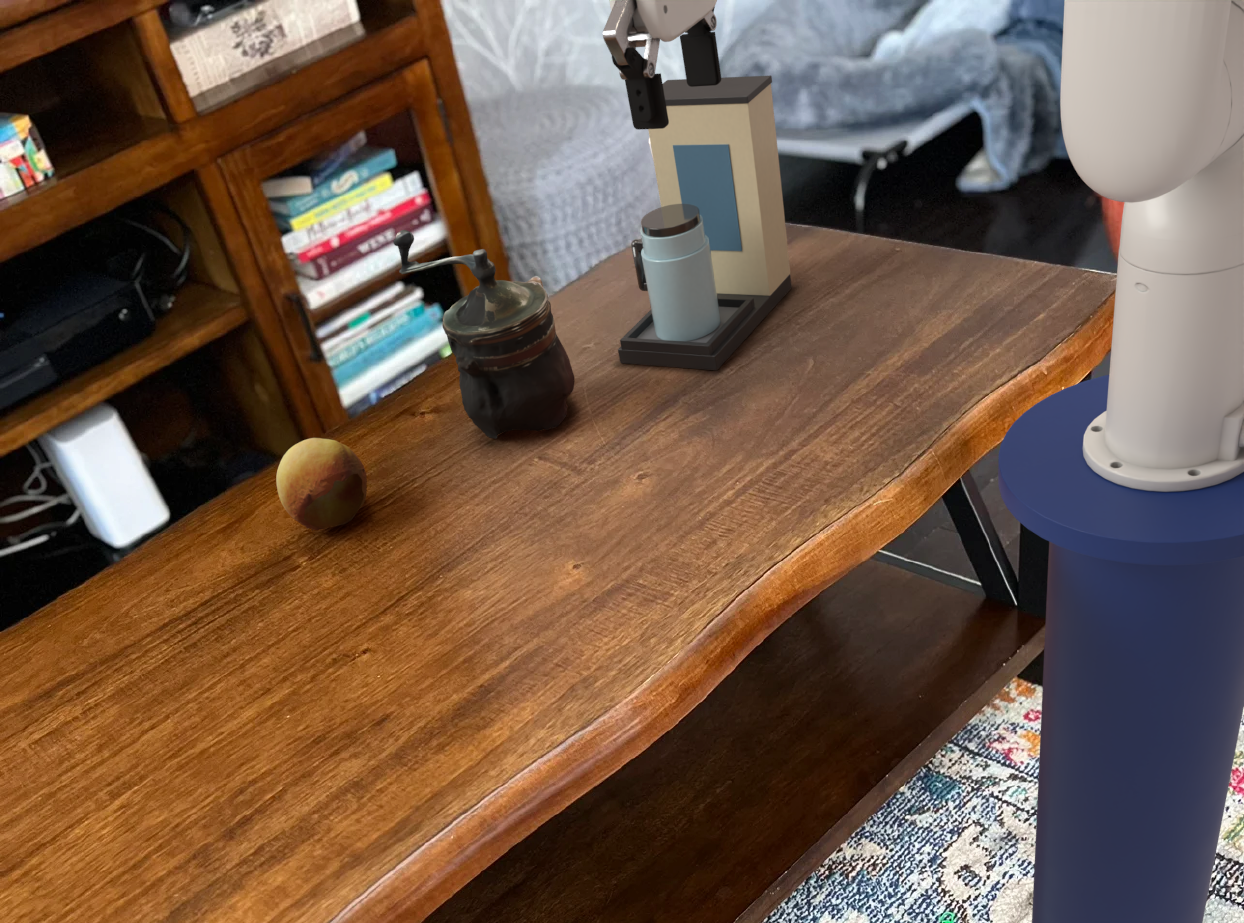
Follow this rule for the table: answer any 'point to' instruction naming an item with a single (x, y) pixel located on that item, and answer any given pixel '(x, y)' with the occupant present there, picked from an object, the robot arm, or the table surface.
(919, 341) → the table surface
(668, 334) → the carafe
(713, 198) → the coffee maker
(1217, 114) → the robot arm
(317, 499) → the fruit
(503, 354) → the coffee grinder
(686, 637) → the table surface
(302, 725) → the table surface
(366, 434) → the table surface
